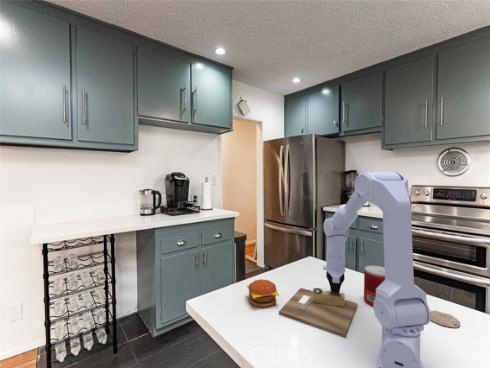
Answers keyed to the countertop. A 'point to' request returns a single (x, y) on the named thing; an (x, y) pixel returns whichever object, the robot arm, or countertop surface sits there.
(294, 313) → the plate
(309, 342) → the countertop surface
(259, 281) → the hamburger
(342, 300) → the bar
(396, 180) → the robot arm
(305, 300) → the white rectangular block
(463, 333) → the countertop surface
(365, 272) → the canned food
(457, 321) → the flatbread
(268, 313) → the countertop surface
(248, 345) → the countertop surface
